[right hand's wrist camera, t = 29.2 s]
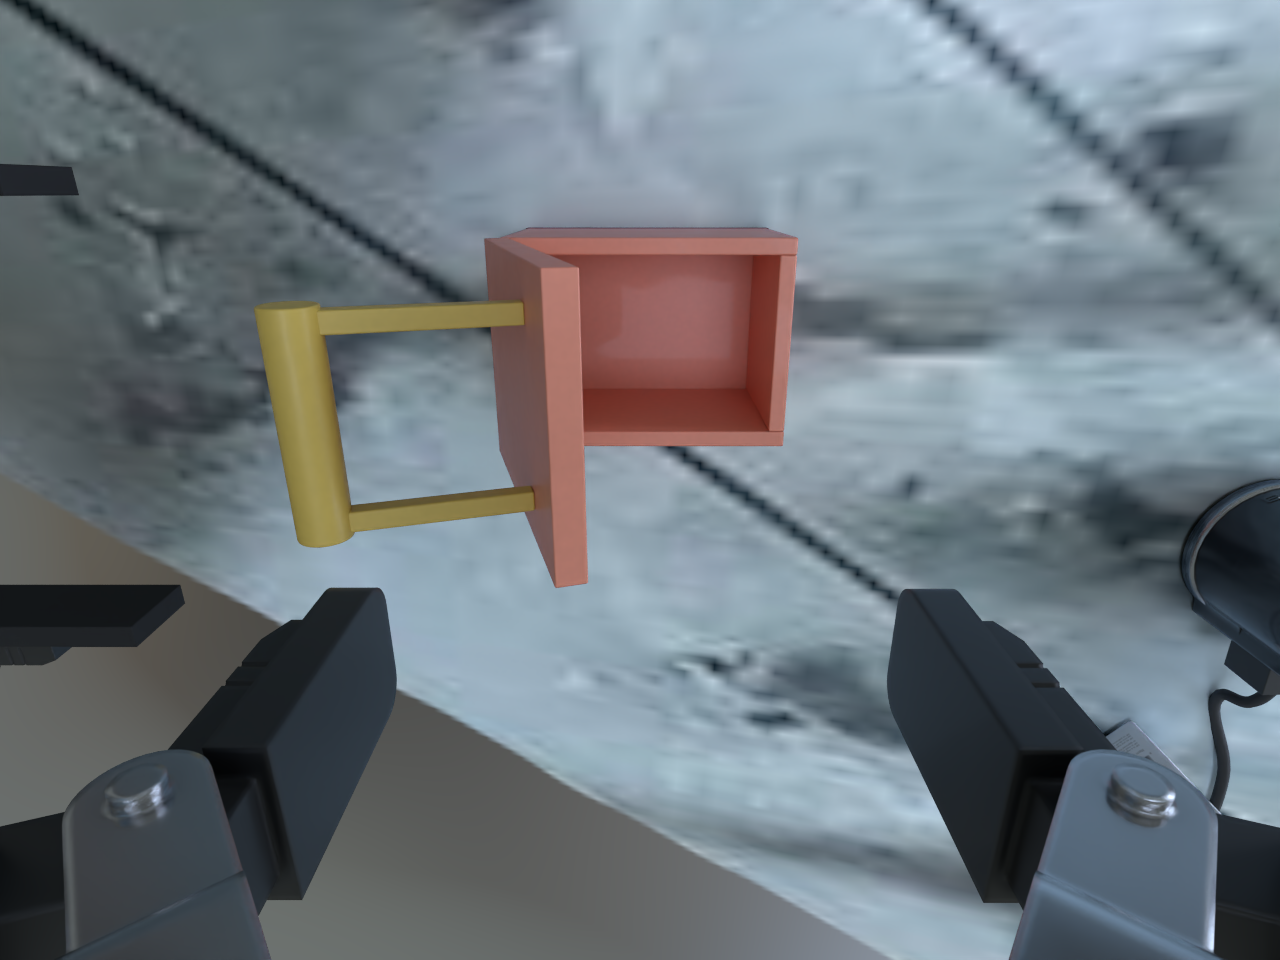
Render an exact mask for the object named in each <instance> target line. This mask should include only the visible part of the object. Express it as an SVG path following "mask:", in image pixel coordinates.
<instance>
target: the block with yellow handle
mask: <svg viewBox="0 0 1280 960" xmlns="http://www.w3.org/2000/svg"><path fill="white" fill-rule="evenodd" d="M484 242H485V255H486V269H487V283H488V296H489V301H470V302H445V303H420V304H395V305H370V306H345V307H320V304H319V303H317V302H312V301H283V302H272V303H265V304H260V305H257V306H255V307H254V312H255V317H256V323H257V328H258V333H259V339H260V344H261V349H262V354H263V360H264V365H265V370H266V376H267V381H268V386H269V392H270V397H271V402H272V408H273V413H274V418H275V423H276V429H277V434H278V439H279V445H280V450H281V455H282V461H283V466H284V471H285V477H286V482H287V487H288V492H289V498H290V503H291V508H292V514H293V519H294V524H295V530H296V535H297V540H298V542H299V543H300V544H301V545H303V546H307V547H328V546H333V545H336V544H340V543H342V542H345V541H347V540H348V539H350V538H351V537H352V536H353V535H354V533H355V532H359V531H367V530H376V529H384V528H392V527H401V526H409V525H417V524H426V523H434V522H442V521H451V520H459V519H467V518H476V517H484V516H492V515H501V514H509V513H517V512H525V514H526V516H527V519H528V521H529V524H530V526H531V529H532V531H533V534H534V536H535V539H536V541H537V544H538V546H539V549H540V551H541V554H542V556H543V558H544V561H545V563H546V566H547V568H548V571H549V573H550V576H551V578H552V581H553V583H554V586H555V587H556V588H559V587H566V586H573V585H579V584H586V583H588V566H587V532H586V497H585V463H584V428H583V393H582V359H581V324H580V290H579V268H578V267H577V266H574V265H572V264H569V263H567V262H564V261H562V260H560V259H557V258H555V257H552V256H550V255H548V254H545V253H543V252H540V251H538V250H535V249H533V248H531V247H528V246H526V245H523V244H521V243H519V242H516V241H514V240H511V239H509V238H485V239H484ZM480 327H491V337H492V351H493V365H494V378H495V392H496V405H497V419H498V433H499V446H500V452H501V455H502V457H503V460H504V462H505V465H506V467H507V470H508V472H509V474H510V477H511V479H512V482H513V484H514V487H512V488H503V489H494V490H485V491H476V492H467V493H458V494H449V495H440V496H431V497H422V498H413V499H404V500H395V501H386V502H377V503H368V504H358V505H351V500H350V494H349V487H348V481H347V474H346V468H345V462H344V455H343V449H342V442H341V436H340V430H339V423H338V417H337V410H336V404H335V397H334V391H333V385H332V378H331V372H330V365H329V359H328V353H327V346H326V340H325V335H340V334H360V333H380V332H400V331H420V330H440V329H460V328H480Z"/></svg>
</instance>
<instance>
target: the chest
mask: <svg viewBox="0 0 1280 960" xmlns="http://www.w3.org/2000/svg"><path fill="white" fill-rule="evenodd" d="M501 238H509V239H511V240H514V241H516V242H519V243H521V244H523V245H526V246H528V247H531V248H533V249H535V250H538V251H540V252H543V253H545V254H548V255H550V256H552V257H555V258H557V259H560V260H562V261H564V262H567V263H569V264H572V265H574V266H577V267H578V268H579V290H580V324H581V359H582V393H583V428H584V446H782V445H783V436H784V432H783V431H784V422H785V408H786V395H787V382H788V368H789V355H790V342H791V329H792V315H793V302H794V289H795V276H796V262H797V256H796V254H797V249H798V238H797V237H793V236H790V235H786V234H783V233H780V232H776V231H773V230H770V229H768V228H526V229H525V230H522V231H519V232H516V233H513V234H510V235H507V236H504V237H501Z"/></svg>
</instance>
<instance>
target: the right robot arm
mask: <svg viewBox="0 0 1280 960" xmlns="http://www.w3.org/2000/svg"><path fill="white" fill-rule="evenodd" d="M1182 573H1183V578H1184V581H1185V584H1186V586H1187V588H1188V589H1189V591H1190V592H1191V594H1192V595H1193V596H1194V597H1195V599H1194V605H1193V611H1194V612H1195V613H1197V614H1198V615H1199V616H1201V617H1202V618H1203V619H1204V620H1206V621H1207V622H1208V623H1210V624H1211V625H1212V626H1214V627H1215V628H1216V629H1218V630H1219V631H1220V632H1222V633H1223V634H1224V635H1226V636H1227V637H1228V638H1230V639H1231V643H1230V647H1229V650H1228V653H1227V656H1226V660H1225V663H1224V665H1226V666H1227V667H1228V668H1229V669H1231V670H1232V671H1233V672H1234V673H1235V674H1237V675H1238V676H1239V677H1240V678H1242V679H1243V680H1244V681H1245V682H1247V683H1248V684H1249V685H1250V686H1252V687H1253V688H1254V689H1255V690H1256V691H1258V692H1257V693H1255V694H1253V695H1251V696H1248V697H1245V696H1241V695H1238V694H1236V693H1234V692H1232V691H1230V690H1227V689H1219V690H1216V691H1215V692H1214V693H1213V694H1212V695H1211V697H1210V698H1209V704H1208V709H1209V716H1210V723H1211V730H1212V734H1213V738H1214V742H1215V747H1216V752H1217V759H1218V769H1217V776H1216V781H1215V785H1214V789H1213V793H1212V796H1211V799H1210V802H1209V801H1208V800H1207V798H1206V797H1205V796H1204V795H1203V794H1202V793H1201V792H1200V791H1199V790H1198V789H1197V788H1196V787H1195V786H1194V785H1192V784H1191V783H1190V782H1189V781H1187V780H1186V779H1185V778H1183V777H1182V776H1180V775H1179V774H1177V773H1175V772H1174V771H1172V770H1170V769H1169V768H1167V767H1165V766H1163V765H1161V764H1159V763H1157V762H1154V761H1152V760H1149V759H1147V758H1144V757H1141V756H1138V755H1135V754H1131V753H1127V752H1122V751H1117V750H1116V749H1115V747H1114V746H1113V745H1112V744H1111V743H1110V741H1109V740H1108V739H1107V738H1106V737H1105V736H1104V734H1103V733H1102V732H1101V731H1100V730H1099V729H1098V727H1097V726H1096V725H1095V724H1094V723H1093V722H1092V720H1091V719H1090V718H1089V717H1088V716H1087V715H1086V713H1085V712H1084V711H1083V710H1082V709H1081V708H1080V706H1079V705H1078V704H1077V703H1076V702H1075V700H1074V699H1073V698H1072V697H1071V696H1070V695H1069V693H1068V692H1067V691H1066V690H1065V689H1064V688H1060V686H1059V682H1058V681H1057V679H1056V678H1055V677H1054V676H1053V675H1052V674H1051V672H1050V671H1049V670H1048V669H1047V668H1043V663H1042V662H1041V661H1040V660H1039V658H1038V657H1037V656H1036V655H1035V654H1034V652H1033V651H1032V650H1031V649H1030V648H1029V647H1028V645H1027V644H1026V643H1025V642H1024V641H1023V640H1022V639H1020V638H1018V637H1017V636H1015V635H1014V634H1012V633H1011V632H1009V631H1007V630H1006V629H1004V628H1003V627H1001V626H1000V625H998V624H997V623H995V622H993V621H982V620H981V619H980V618H979V617H978V615H977V614H976V613H975V612H974V610H973V609H972V608H971V607H970V605H969V604H968V603H967V602H966V600H965V599H964V598H963V597H962V595H961V594H960V593H959V592H958V591H957V590H955V589H905V590H903V591H902V593H901V595H900V597H899V600H898V605H897V612H896V619H895V626H894V632H893V639H892V646H891V653H890V660H889V666H888V674H887V690H888V699H889V704H890V708H891V711H892V714H893V716H894V718H895V721H896V723H897V725H898V727H899V729H900V731H901V733H902V735H903V737H904V739H905V741H906V743H907V745H908V747H909V750H910V752H911V754H912V756H913V758H914V760H915V762H916V764H917V766H918V768H919V770H920V772H921V774H922V776H923V779H924V781H925V783H926V785H927V787H928V789H929V791H930V793H931V795H932V797H933V799H934V801H935V803H936V805H937V808H938V810H939V812H940V814H941V816H942V818H943V820H944V822H945V824H946V826H947V828H948V830H949V832H950V834H951V836H952V839H953V841H954V843H955V845H956V847H957V849H958V851H959V853H960V855H961V857H962V859H963V861H964V863H965V865H966V868H967V870H968V872H969V874H970V876H971V878H972V880H973V882H974V884H975V886H976V888H977V890H978V892H979V894H980V897H981V899H982V901H983V903H1019V904H1020V905H1021V907H1022V909H1023V914H1022V917H1021V921H1020V924H1019V927H1018V931H1017V934H1016V937H1015V940H1014V944H1013V947H1012V950H1011V954H1010V957H1009V960H1280V828H1278V827H1274V826H1270V825H1265V824H1261V823H1256V822H1252V821H1247V820H1243V819H1239V818H1234V817H1230V816H1225V815H1222V814H1218V813H1215V811H1214V808H1213V807H1212V805H1213V806H1214V807H1215V808H1216V809H1217V810H1218V811H1220V809H1221V806H1222V804H1223V801H1224V798H1225V794H1226V791H1227V787H1228V783H1229V778H1230V757H1229V751H1228V746H1227V742H1226V738H1225V734H1224V730H1223V726H1222V722H1221V716H1220V707H1221V704H1222V702H1223V701H1224V700H1227V701H1229V702H1231V703H1233V704H1236V705H1238V706H1240V707H1244V708H1252V707H1256V706H1260V705H1262V704H1265V703H1266V702H1268V701H1270V700H1271V699H1272V698H1274V697H1275V696H1276V695H1280V479H1278V480H1269V481H1263V482H1259V483H1255V484H1252V485H1249V486H1246V487H1244V488H1242V489H1239V490H1237V491H1235V492H1234V493H1232V494H1230V495H1228V496H1227V497H1225V498H1224V499H1222V500H1221V501H1219V502H1218V503H1217V504H1216V505H1214V506H1213V507H1212V508H1211V509H1210V510H1209V511H1208V512H1207V513H1206V514H1205V515H1204V516H1203V517H1202V518H1201V519H1200V521H1199V522H1198V523H1197V525H1196V526H1195V528H1194V529H1193V531H1192V532H1191V534H1190V536H1189V538H1188V540H1187V543H1186V545H1185V549H1184V552H1183V557H1182ZM396 684H397V677H396V667H395V660H394V653H393V646H392V639H391V632H390V626H389V619H388V612H387V605H386V600H385V596H384V594H383V592H382V590H381V589H380V588H329V589H327V590H326V591H325V592H324V593H323V594H322V596H321V597H320V598H319V599H318V601H317V602H316V603H315V605H314V606H313V607H312V608H311V610H310V611H309V612H308V613H307V615H306V616H305V617H304V619H303V620H290V621H289V622H287V623H286V624H284V625H283V626H281V627H280V628H278V629H276V630H275V631H273V632H272V633H270V634H269V635H267V636H266V637H264V638H262V639H261V640H260V641H259V643H258V644H257V645H256V646H255V647H254V648H253V650H252V651H251V652H250V653H249V654H248V655H247V657H246V658H245V659H244V660H243V661H242V666H241V667H237V669H236V670H235V671H234V672H233V673H232V674H231V676H230V677H229V678H228V679H227V680H226V685H225V686H221V687H220V689H219V690H218V691H217V692H216V693H215V695H214V696H213V697H212V698H211V699H210V700H209V702H208V703H207V704H206V705H205V706H204V708H203V709H202V710H201V711H200V712H199V713H198V715H197V716H196V717H195V718H194V719H193V721H192V722H191V723H190V724H189V725H188V727H187V728H186V729H185V730H184V731H183V732H182V734H181V735H180V736H179V737H178V738H177V739H176V741H175V742H174V743H173V744H172V745H171V747H170V748H169V749H168V750H164V751H158V752H153V753H149V754H145V755H142V756H139V757H136V758H133V759H131V760H128V761H126V762H123V763H121V764H119V765H117V766H115V767H113V768H111V769H110V770H108V771H106V772H105V773H103V774H101V775H100V776H98V777H97V778H96V779H94V780H93V781H91V782H90V783H89V784H88V785H86V786H85V787H84V788H83V789H82V790H81V791H80V792H79V793H78V794H77V795H76V796H75V797H74V798H73V800H72V801H71V802H70V804H69V805H68V807H67V809H66V811H65V812H63V813H58V814H54V815H50V816H45V817H41V818H36V819H32V820H27V821H23V822H19V823H14V824H10V825H5V826H1V827H0V960H271V957H270V954H269V950H268V947H267V944H266V941H265V937H264V934H263V931H262V927H261V924H260V921H259V917H258V916H259V914H260V912H261V910H262V908H263V906H264V904H265V902H266V900H302V899H303V897H304V895H305V893H306V890H307V888H308V886H309V884H310V882H311V880H312V878H313V876H314V874H315V872H316V870H317V867H318V865H319V863H320V861H321V859H322V857H323V855H324V853H325V851H326V849H327V846H328V844H329V842H330V840H331V838H332V836H333V834H334V832H335V830H336V827H337V826H338V823H339V821H340V819H341V817H342V815H343V813H344V811H345V809H346V807H347V805H348V802H349V800H350V798H351V796H352V794H353V792H354V790H355V788H356V786H357V784H358V781H359V779H360V777H361V775H362V773H363V771H364V769H365V767H366V765H367V763H368V761H369V758H370V756H371V754H372V752H373V750H374V748H375V746H376V744H377V742H378V740H379V738H380V735H381V733H382V731H383V729H384V727H385V725H386V723H387V721H388V719H389V717H390V714H391V712H392V709H393V705H394V701H395V695H396ZM1210 803H1211V804H1212V805H1211V804H1210Z"/></svg>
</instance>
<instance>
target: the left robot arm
mask: <svg viewBox="0 0 1280 960" xmlns="http://www.w3.org/2000/svg"><path fill="white" fill-rule="evenodd" d="M28 195H79V194H78V190H77V186H76V182H75V178H74V175H73V171H72V167H58V166H35V165H12V164H0V196H28ZM184 604H185V602H184V598H183V594H182V590H181V586H180V585H0V665H13V664H14V665H25V664H26V665H44V664H47V663H49V662H52V661H55V660H56V659H58V658H59V657H60V656H61V655H63V654H64V653H65V652H66V651H67V650H69V649H70V648H71V647H137V646H138V645H139V644H141V643H142V642H143V641H144V640H145V639H146V638H147V637H148V636H149V635H150V634H152V633H153V632H154V631H155V630H156V629H157V628H158V627H159V626H160V625H162V624H163V623H164V622H165V621H166V620H167V619H168V618H169V617H170V616H171V615H173V614H174V613H175V612H176V611H177V610H178V609H179V608H180V607H181V606H183V605H184Z"/></svg>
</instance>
